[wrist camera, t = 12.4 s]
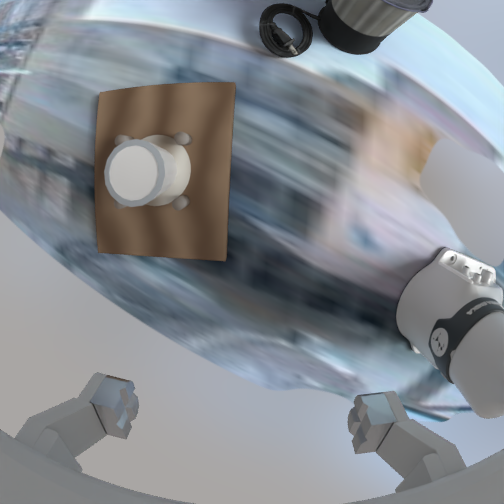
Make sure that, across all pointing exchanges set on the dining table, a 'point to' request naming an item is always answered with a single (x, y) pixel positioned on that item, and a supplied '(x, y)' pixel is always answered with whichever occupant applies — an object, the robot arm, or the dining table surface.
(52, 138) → the dining table surface
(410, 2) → the milk frother
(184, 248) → the pin board
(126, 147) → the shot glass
